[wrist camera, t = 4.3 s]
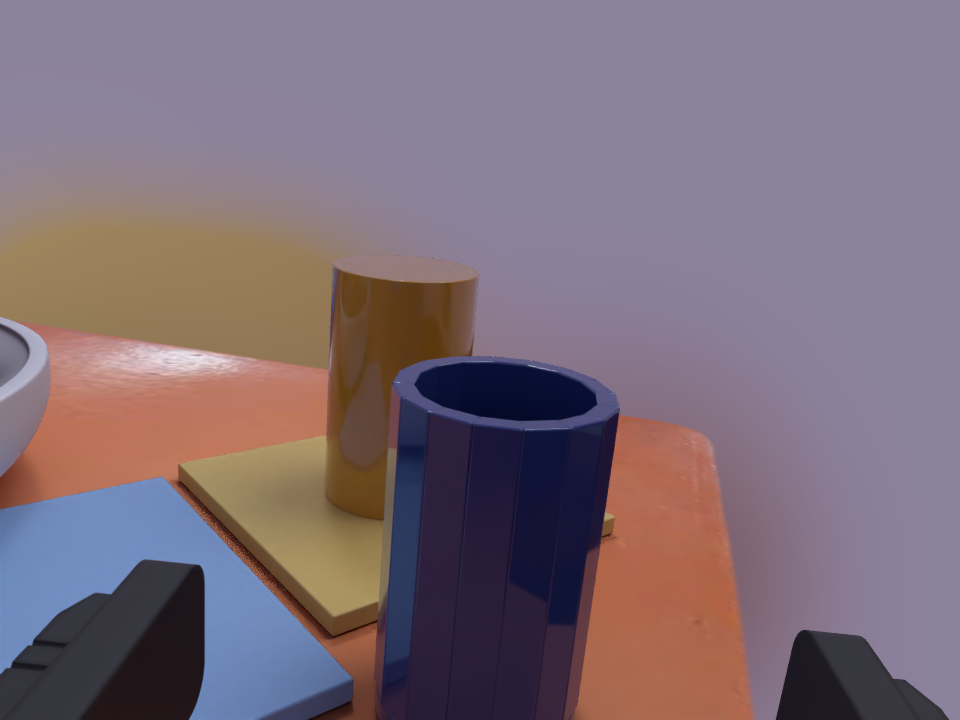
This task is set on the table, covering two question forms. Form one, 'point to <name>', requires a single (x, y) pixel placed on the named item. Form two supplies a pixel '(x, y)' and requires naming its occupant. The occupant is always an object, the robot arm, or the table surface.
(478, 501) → the navy cup
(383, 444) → the glossy amber cylinder
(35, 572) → the blue mat
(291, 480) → the mustard mat
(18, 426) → the bowl
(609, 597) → the table surface
